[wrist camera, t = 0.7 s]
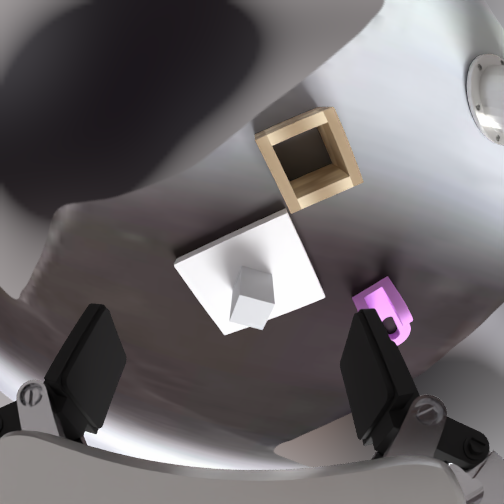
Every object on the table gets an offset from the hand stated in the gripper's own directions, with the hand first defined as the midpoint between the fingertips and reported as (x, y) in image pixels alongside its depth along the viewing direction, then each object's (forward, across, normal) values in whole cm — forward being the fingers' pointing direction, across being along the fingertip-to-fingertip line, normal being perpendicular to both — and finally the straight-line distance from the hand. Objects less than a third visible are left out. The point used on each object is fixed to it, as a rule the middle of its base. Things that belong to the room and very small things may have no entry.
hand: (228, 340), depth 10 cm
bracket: (+22, -20, +18) cm, 35 cm away
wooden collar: (+22, -6, -4) cm, 23 cm away
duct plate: (+22, -1, +11) cm, 24 cm away
